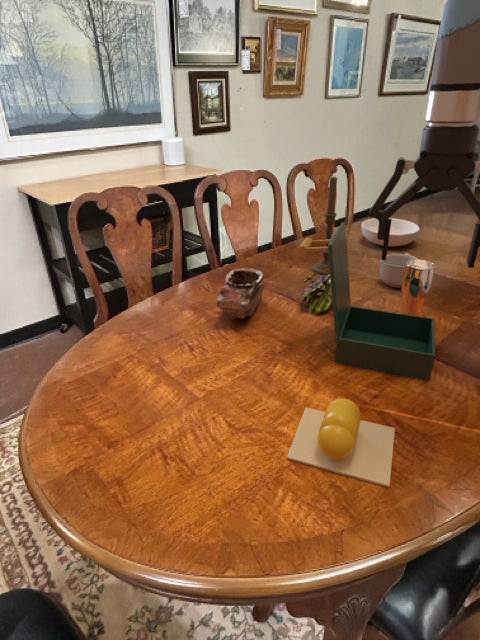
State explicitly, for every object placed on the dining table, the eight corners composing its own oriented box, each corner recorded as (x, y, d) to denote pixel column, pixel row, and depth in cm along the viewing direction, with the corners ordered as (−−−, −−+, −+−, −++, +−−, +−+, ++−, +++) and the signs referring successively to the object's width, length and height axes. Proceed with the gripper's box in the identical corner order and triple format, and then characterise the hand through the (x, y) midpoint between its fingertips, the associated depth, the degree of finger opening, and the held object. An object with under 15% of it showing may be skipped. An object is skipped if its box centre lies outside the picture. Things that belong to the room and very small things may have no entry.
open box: (428, 342, 98) (434, 318, 95) (428, 382, 85) (435, 355, 82) (345, 328, 105) (348, 305, 101) (334, 364, 91) (336, 338, 88)
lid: (345, 221, 92) (308, 224, 96) (331, 244, 79) (289, 247, 83) (350, 303, 101) (316, 303, 104) (339, 336, 88) (300, 335, 91)
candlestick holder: (321, 276, 133) (329, 179, 119) (306, 266, 141) (312, 174, 126) (345, 272, 136) (356, 176, 122) (329, 262, 144) (338, 171, 129)
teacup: (403, 294, 121) (408, 268, 117) (370, 283, 128) (373, 258, 124) (426, 280, 129) (431, 256, 125) (394, 271, 136) (398, 247, 132)
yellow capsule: (331, 417, 77) (325, 391, 75) (365, 418, 74) (360, 391, 72) (317, 466, 67) (310, 437, 65) (355, 469, 65) (349, 439, 62)
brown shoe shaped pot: (281, 300, 119) (282, 268, 114) (256, 334, 103) (256, 299, 98) (238, 293, 123) (237, 263, 119) (208, 325, 107) (206, 291, 103)
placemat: (394, 430, 74) (395, 427, 73) (389, 487, 63) (389, 485, 63) (305, 409, 79) (305, 406, 79) (286, 459, 68) (286, 457, 68)
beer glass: (405, 309, 113) (416, 257, 106) (429, 319, 108) (442, 265, 101) (389, 317, 109) (399, 263, 102) (413, 327, 104) (425, 272, 97)
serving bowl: (355, 248, 156) (357, 230, 152) (363, 232, 172) (365, 215, 169) (414, 255, 148) (418, 236, 145) (417, 237, 165) (420, 220, 162)
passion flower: (307, 319, 120) (311, 278, 122) (345, 320, 115) (348, 278, 116) (293, 312, 110) (297, 268, 112) (333, 314, 105) (337, 267, 107)
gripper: (545, 120, 60) (505, 259, 70) (365, 123, 68) (353, 247, 78) (559, 125, 54) (513, 277, 64) (360, 127, 62) (348, 262, 72)
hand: (425, 261), depth 71 cm, fingers open, 13 cm apart
